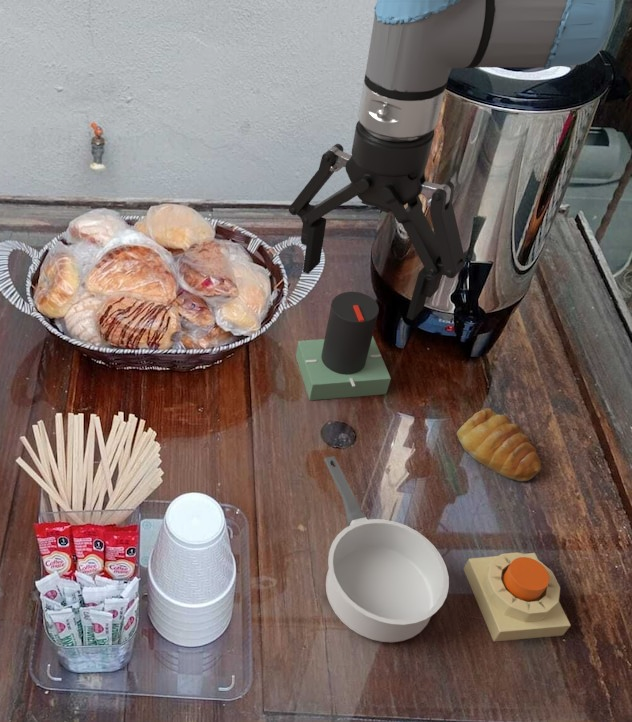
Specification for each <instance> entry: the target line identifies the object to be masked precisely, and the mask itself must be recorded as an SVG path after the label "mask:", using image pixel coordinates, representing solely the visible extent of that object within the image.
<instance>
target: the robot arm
mask: <svg viewBox="0 0 632 722" xmlns="http://www.w3.org/2000/svg"><path fill="white" fill-rule="evenodd" d="M615 11H616V0H376V4H375V5H374V9H373V13H374V17H373V23H372V28H371V29H372V30H371V36H370V43H369V50H368V55H367V62H366V67H365V74H364V79H363V85H362V89H361V96H360V101H359V107H358V112H357V118H358V121H357V122H356V125H355V130H354V134H353V141H352V147H351V154H349V153H347V152H344V151H345V150H344V147H343V145H342V144H340V143H335V144H334V145H333V146H332V147H330V148H329V149H328V150H327V151H326V152H324V153H323V154H322V155H321V159H320V163H319V166H318V169H317V171H316V172H315V173H314V174H313V176H312V177H311V179H310V180H309V181H308V182H307V184H306V185H305V186H304V187H303V189H302V190H301V191H300V192H299V194H298V195H297V197H296V198H295V199H294V200H293V202H292V203H291V204H290V205H289V207H288V213H289V214H290V215H292V216H297V217H299V218H300V219H301V223H302V227H301V235H300V242H301V245H303V246H304V247H305V253H304V260H303V267H302V272H303V273H305V274H307V275H309V274H310V273H311V272H312V271H313V270H314V269H315V268H316V267H317V266H318V265H320V263H321V259H322V253H323V244H324V239H325V232H326V226H327V218H326V217H324V216H325V215H327V214H329V213H330V212H332V211H333V210H335V209H336V208H338V207H340V206H341V205H343V204H345V203H347V202H349V201H351V200H352V199H354V198H355V197H357V198H358V199H359V201H361V204H363V205H366V206H367V207H368V206H370V207H375V208H377V210H380V211H381V212H384V213H387V214H388V213H390V212H391V213H392V214H393V217H394V218H395V220H396V222H397V223H398V224H401V226H402V227H403V229H404V231H405V233H406V235H407V237H408V239H409V240H410V243H411V245H412V246H413V248H414V251H415V253H416V254H417V256H418V258H419V260H420V262H421V264H422V265H423V267H422V268H421V270H420V271H418V273H417V277H416V281H415V284H414V288H413V292H412V296H411V299H410V303H409V307H408V311H407V314H406V318H407V319H409V320H411V321H414V319H415V318H416V317H417V316H418V315H419V313H421V312H422V310H423V309H424V308H425V304H426V300H427V298H429V299H431V297H433V296H434V294H435V293H436V292H437V291H438V290H439V289H440V286H441V281H442V280H443V279H442V278H443V276H445V277H446V278H448V279H454V278H456V276H457V275H458V274H459V273H460V272H461V270H463V268H464V267H465V266H466V258H465V253H464V249H463V245H462V241H461V240H462V239H461V236H460V231H459V227H458V223H457V218H456V215H455V210H454V205H453V199H454V194H455V193H454V192H455V185H454V183H453V182H452V181H449V180H445V181H444V182H443V183H441V184H440V183H435V182H431V181H427V178H426V168H427V164H428V161H429V157H430V153H431V149H432V146H433V142H434V137H435V128H436V127H437V126H438V122H439V118H440V114H441V109H442V105H443V101H444V97H445V94H446V89H447V86H448V83H449V76H450V73H451V72H452V69H474V68H543V69H544V70H549V69H551V68H554V67H566V66H567V67H569V66H581V65H584V64H586V63H588V62H590V61H591V60H592V59H594V57H596V56H597V55H598V54H599V52H600V51H601V50H602V48H603V47H604V46H605V43H606V41H607V39H608V36H609V34H610V31H611V28H612V26H613V22H614V19H615V18H614V17H615ZM342 168H345V172H346V174H347V177H348V179H349V181H350V183H348V184H347V185H345V186H344V187H342V188H341V189H339V190H338V191H336V192H335V193H333V194H332V195H330V196H328V197H327V198H325V199H324V200H322V201H321V202H319V203H316V204H315V205H314V206H313V205H312V204H310V203H311V201H312V200H314V198H315V197H316V195H317V194H318V193H319V192H320V190H321V189H322V188H323V187H324V186H325V184H326V183H327V182H328V181H329V179H330V178H331V177H332V176H333V174H334V173H335V172H338V171H340V170H341V169H342ZM420 195H422V196H423V197H425V201H426V202H425V205H426V207H428V208H429V215H430V221H431V225H432V226H431V225H430V222H429V221H428V219H427V217H426V214H425V213H424V211H423V202H422V200H421V198H420V197H419V196H420ZM406 205H407V207H405V206H406Z"/></svg>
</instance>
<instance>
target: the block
mask: <svg viewBox="0 0 632 722" xmlns="http://www.w3.org/2000/svg"><path fill="white" fill-rule="evenodd" d="M520 557H527V558H531V559H534V560H536V561H538V562H539V563H541V564H542V565H543V566H544V567H545V569H546V570H547V572H548V574H549V584H548V586H547V587H546V589H545V590H544V591H543V593H542V594H541V596H540V597H539V598H537V599H535V600H529V601H528V600H522V599H519V598H517V597H515V596H514V595H513V594H511V593H510V592H509V591H508V589H507V588H506V586H505V584H504V574H505V572H506V571H507V569H508V567H509V566H510V564H511V562H512V561H513V560H515V559H516V558H520ZM463 571H464V574H465V576H466V579H467V581H468V583H469V586H470V588H471V591H472V593H473V596H474V598H475V601H476V603H477V605H478V607H479V610H480V612H481V615H482V618H483V619H484V622H485V624H486V627H487V629H488V632H489V634H490V636H491V639H492V641H493V642H503V641H517V640H526V639H527V640H528V639H535V638H536V639H538V638H549V637H550V638H551V637H561V636H564V635H565V633H567V631H568V630H569V629H570V627H571V625H572V624H571V623H570V620H569V619H568V617H567V614H566V612H565V611H564V609H563V607H562V604H561V602H560V595H561V586H560V584H559V582H558V580H557V578H556V576H555V574H554V572H553V571H552V570H551V569H550V568H549V567H548V566H547V565H546V564H545V563H543V562H542V561H540V560H539V558H538V557H537V554H536V553H535V552H529V553H523V552H517V551H516V552H509V553H508V552H507V553H501V554H499V555H494V556H484V557H471V558H468V560H467V561H466V563H465V565H464V567H463Z"/></svg>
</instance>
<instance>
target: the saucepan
mask: <svg viewBox="0 0 632 722" xmlns="http://www.w3.org/2000/svg"><path fill="white" fill-rule="evenodd" d="M323 462H324V463H325V465H326V468H327V470H328V472H329V474H330V476H331V478H332V480H333V482H334V484H335V487H336V489H337V491H338V493H339V495H340V498H341V499H342V503H343V508H344V513H345V514H344V515H345V522H346V524H347V526H346V527H345V528H343V529H342V530H341V531H340V532H339V533H338V534H336V536H335V538H334V539H333V541H332V543H331V545H330V548H329V550H328V558H327V565H328V569H327V573H326V577H325V590H326V597H327V600H328V603H329V605H330V607H331V608H332V610H333V612H334V613H335V615H336V616H337V617H338V619H339V620H340V621H341V622H342V623H343V624H344V625H345V626H346V627H348V628H349V629H350V630H352V632H355V633H357V634H358V635H360V636H362V637H364V638H366V639H369V640H372V641H377V642H381V643H398V642H403V641H407V640H410V639H413V638H414V637H415V636H417V635H418V634H420V633H421V632H422V631H423V630H424V629H425V628H426V627H427V626H428V624H429V622H430V620H431V618H432V616H433V615H435V614H436V613H437V612H438V611H439V610H440V609H441V608H442V606H443V605H444V603H445V601H446V599H447V597H448V592H449V588H450V586H449V585H450V577H449V576H450V575H449V572H448V568H447V565H446V562H445V561H444V559H443V556H442V554H441V553H440V552H439V550H438V549H437V548H436V546H435V545H434V544H433V543H432V542H431V541H430V540H429V539H428V538H427V537H425V535H423V534H422V533H420V532H419V531H417V530H416V529H414V528H412V527H410V526H408V525H406V524H403V523H400V522H397V521H395V520H388V519H382V518H381V519H380V518H370V519H368V516H367V514H366V513H365V512H364V511H363V510H362V507H361V505H360V503H359V501H358V499H357V497H356V496H355V494H354V492H353V490H352V488H351V486H350V484H349V482H348V481H347V478H346V476H345V474H344V471H342V469H341V466H340V465H339V463H338V460H337V459H336V457H335V455H331V456H327V457H325V458H324V459H323Z"/></svg>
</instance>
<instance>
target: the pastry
mask: <svg viewBox="0 0 632 722" xmlns="http://www.w3.org/2000/svg"><path fill="white" fill-rule="evenodd" d="M456 436H457V439H458V442H459V443H460V444H461V446H462V448H463V450H464V451H465V452H467V453H468V455H470V456H471V458H472V459H474V460H475V461H477V462H478V463H479V464H482V465H483V466H485V467H486V468H487V469H490V470H491V471H493V472H494V473H497V474H498V475H500V476H502V477H504V478H507V479H510V480H514V481H517V482H528V481H530V480H531V479H533V478H534V477H535V476H536V475H537V474H538V473H539V472H540V471H541V470H542V465H541V463H542V461H541V458H540V457H539V455H538V453H537V448H536V447H535V446H533V445H532V444H531V441H530V439H529V436H528V435H525V434H524V433H523V430H522V429H521V427H519V425H518V424H516V423H511V419H510V418H509V417H508V416H507V415H506V414H497V413H496V412H495V411H493V410H492V408H488V407H486V408H484V409H481V410H478V411H477V412H475V413H474V414H473V415H472V416H471V417H470V418H468V419H467V420H466V421H465V422H464V424H462V426H460V427H459V429H458V430H457V431H456Z"/></svg>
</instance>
